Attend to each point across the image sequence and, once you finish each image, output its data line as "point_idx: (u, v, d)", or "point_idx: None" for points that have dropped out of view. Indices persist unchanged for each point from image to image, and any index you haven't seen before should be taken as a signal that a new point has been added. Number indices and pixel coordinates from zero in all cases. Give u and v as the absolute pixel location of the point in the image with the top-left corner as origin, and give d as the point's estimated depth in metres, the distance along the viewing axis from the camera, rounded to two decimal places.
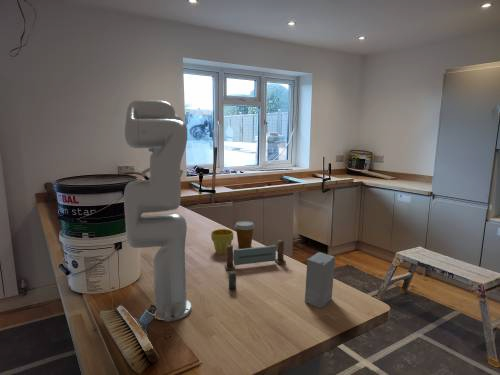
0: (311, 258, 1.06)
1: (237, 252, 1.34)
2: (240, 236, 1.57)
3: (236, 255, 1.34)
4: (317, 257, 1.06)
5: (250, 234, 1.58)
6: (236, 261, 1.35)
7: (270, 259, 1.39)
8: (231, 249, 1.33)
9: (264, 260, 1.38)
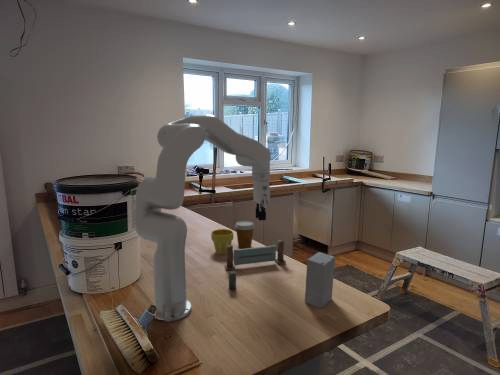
0: (311, 258, 1.06)
1: (237, 252, 1.34)
2: (240, 236, 1.57)
3: (236, 255, 1.34)
4: (317, 258, 1.06)
5: (250, 234, 1.58)
6: (236, 261, 1.35)
7: (270, 259, 1.39)
8: (231, 249, 1.33)
9: (264, 260, 1.38)
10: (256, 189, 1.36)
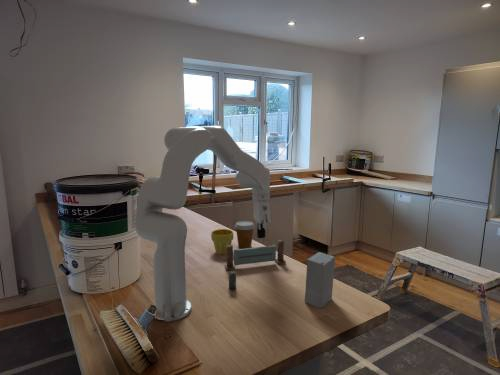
0: (311, 258, 1.06)
1: (237, 252, 1.34)
2: (240, 236, 1.57)
3: (236, 255, 1.34)
4: (317, 258, 1.06)
5: (250, 234, 1.58)
6: (236, 261, 1.35)
7: (270, 259, 1.39)
8: (231, 249, 1.33)
9: (264, 260, 1.38)
10: (256, 209, 1.38)
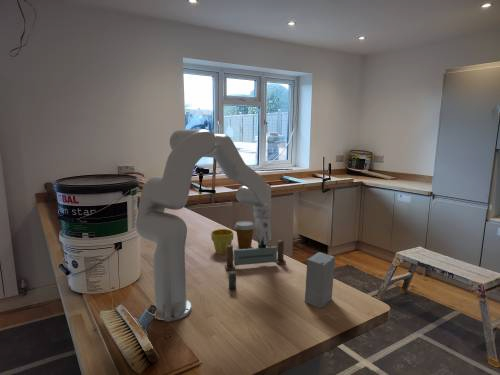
0: (311, 258, 1.06)
1: (237, 252, 1.34)
2: (240, 236, 1.57)
3: (236, 255, 1.34)
4: (317, 258, 1.06)
5: (250, 234, 1.58)
6: (236, 261, 1.34)
7: (271, 260, 1.38)
8: (231, 249, 1.33)
9: (265, 261, 1.37)
10: (257, 225, 1.36)
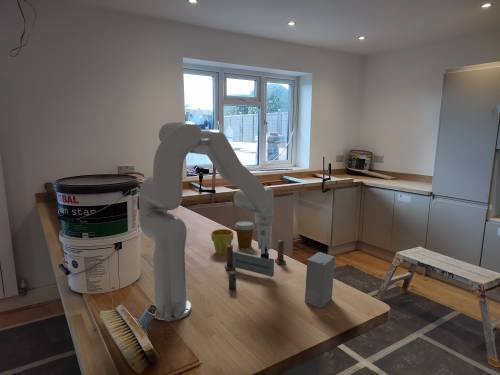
0: (311, 258, 1.06)
1: (234, 254, 1.32)
2: (240, 236, 1.57)
3: (234, 257, 1.32)
4: (317, 257, 1.06)
5: (250, 234, 1.58)
6: (234, 263, 1.33)
7: (266, 273, 1.25)
8: (231, 249, 1.33)
9: (260, 272, 1.27)
10: None
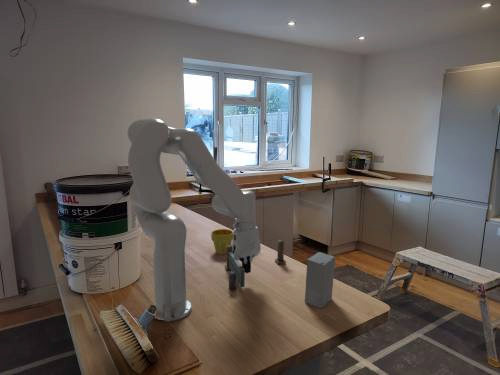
0: (311, 258, 1.06)
1: (229, 255, 1.31)
2: None
3: (229, 258, 1.31)
4: (317, 258, 1.06)
5: None
6: (229, 264, 1.32)
7: (239, 282, 1.18)
8: (231, 249, 1.33)
9: (237, 279, 1.20)
10: None
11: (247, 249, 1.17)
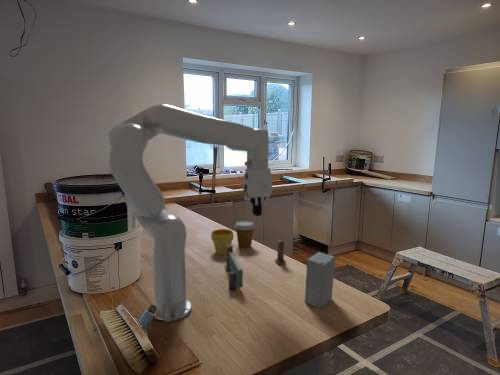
0: (311, 258, 1.06)
1: (229, 255, 1.31)
2: (240, 236, 1.57)
3: (229, 258, 1.31)
4: (317, 258, 1.06)
5: (250, 234, 1.58)
6: (229, 264, 1.32)
7: (237, 282, 1.18)
8: (231, 249, 1.33)
9: None
10: None
11: (259, 189, 1.13)
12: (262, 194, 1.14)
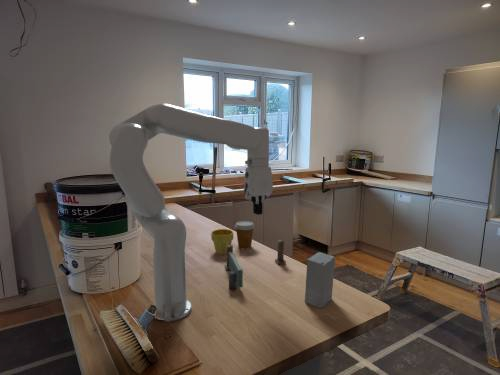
0: (311, 258, 1.06)
1: (229, 255, 1.31)
2: (240, 236, 1.57)
3: (229, 258, 1.31)
4: (317, 258, 1.06)
5: (250, 234, 1.58)
6: (229, 264, 1.32)
7: (237, 282, 1.18)
8: (231, 249, 1.33)
9: None
10: None
11: (259, 188, 1.13)
12: (263, 193, 1.14)
